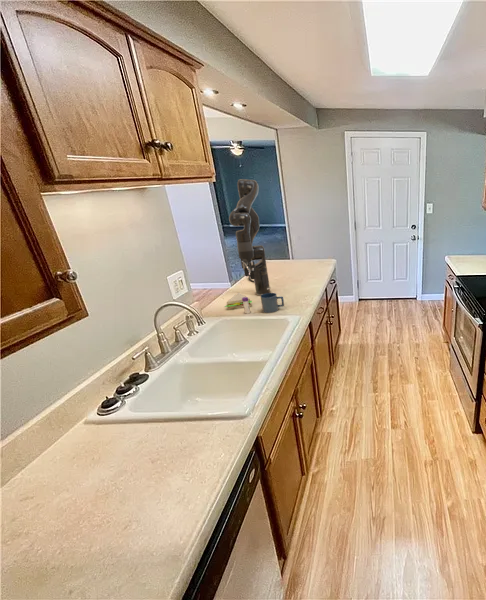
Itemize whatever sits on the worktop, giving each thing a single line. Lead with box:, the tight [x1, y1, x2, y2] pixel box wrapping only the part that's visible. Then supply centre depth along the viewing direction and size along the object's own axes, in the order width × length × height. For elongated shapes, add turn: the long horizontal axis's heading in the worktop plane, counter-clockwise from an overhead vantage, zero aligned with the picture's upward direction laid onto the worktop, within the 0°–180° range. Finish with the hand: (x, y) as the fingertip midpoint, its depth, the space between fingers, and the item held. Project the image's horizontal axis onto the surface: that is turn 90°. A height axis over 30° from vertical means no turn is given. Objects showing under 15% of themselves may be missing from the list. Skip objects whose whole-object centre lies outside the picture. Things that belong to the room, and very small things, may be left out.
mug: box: [259, 292, 285, 314], centre depth 198 cm, size 13×9×10 cm
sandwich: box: [224, 291, 253, 310], centre depth 208 cm, size 15×20×5 cm
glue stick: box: [242, 296, 251, 315], centre depth 194 cm, size 3×3×9 cm
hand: (250, 277), depth 188 cm, fingers open, 8 cm apart
